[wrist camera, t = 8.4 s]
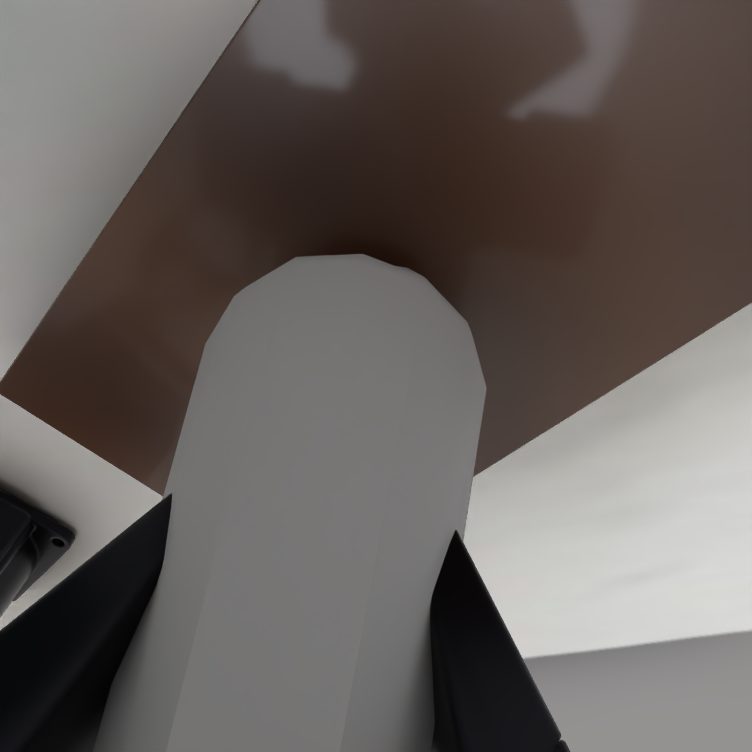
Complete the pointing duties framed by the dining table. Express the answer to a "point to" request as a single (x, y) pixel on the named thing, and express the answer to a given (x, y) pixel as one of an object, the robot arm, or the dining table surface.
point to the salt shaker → (308, 521)
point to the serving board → (427, 202)
